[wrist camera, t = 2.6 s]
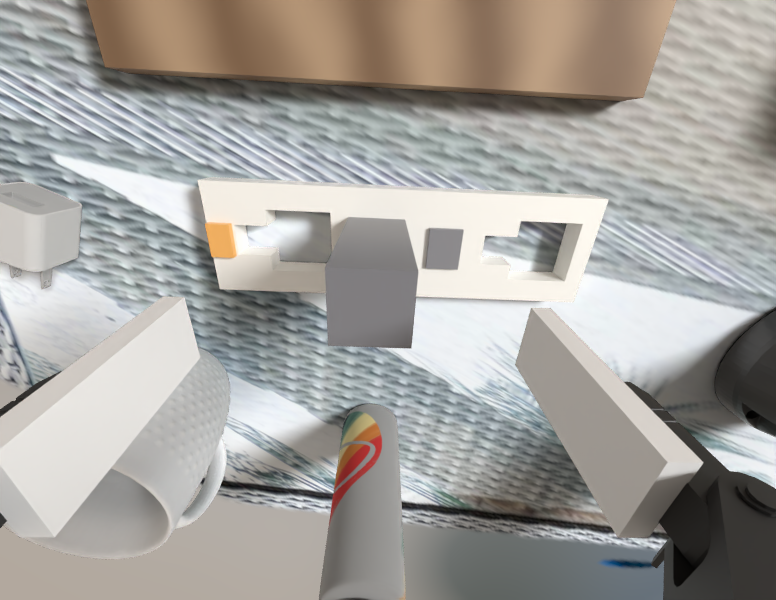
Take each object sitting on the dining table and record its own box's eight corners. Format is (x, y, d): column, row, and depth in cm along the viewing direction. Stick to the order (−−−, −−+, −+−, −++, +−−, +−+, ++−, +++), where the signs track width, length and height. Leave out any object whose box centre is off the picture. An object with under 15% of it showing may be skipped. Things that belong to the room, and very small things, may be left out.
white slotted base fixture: (591, 194, 24) (758, 239, 13) (561, 291, 28) (673, 388, 17) (211, 176, 23) (64, 208, 13) (230, 279, 27) (128, 372, 16)
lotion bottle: (335, 409, 33) (280, 720, 16) (387, 396, 33) (392, 706, 15) (355, 445, 36) (326, 750, 18) (404, 434, 35) (424, 739, 17)
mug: (285, 427, 35) (235, 574, 23) (194, 448, 36) (102, 597, 24) (214, 309, 28) (93, 430, 16) (105, 340, 29) (-78, 472, 18)
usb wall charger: (87, 206, 24) (36, 217, 21) (81, 282, 27) (35, 304, 23) (27, 181, 23) (-37, 188, 20) (27, 262, 26) (-30, 281, 22)
